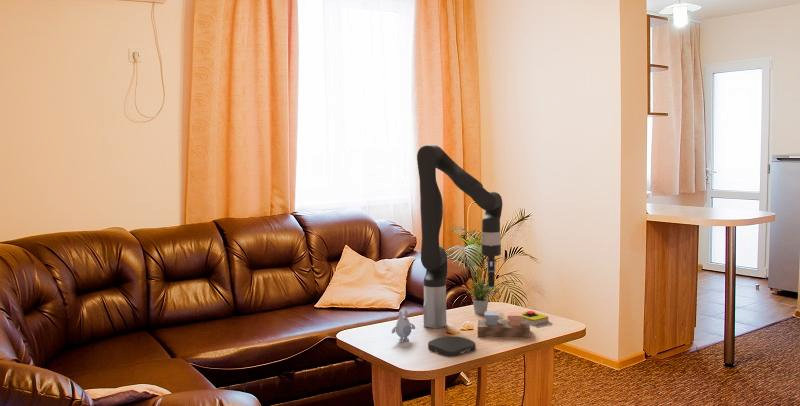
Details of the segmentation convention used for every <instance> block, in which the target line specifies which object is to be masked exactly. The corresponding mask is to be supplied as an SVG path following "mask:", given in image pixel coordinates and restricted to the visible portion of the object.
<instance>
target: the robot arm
mask: <svg viewBox="0 0 800 406" xmlns="http://www.w3.org/2000/svg"><path fill="white" fill-rule="evenodd" d="M416 162H417V170H418V171H417V172H418V177H419V178H418V179H419V197H420V207H419V208H420V209H419V210H420V225H421V248H420V263H421V265H422V267H424V269H425V270H426V271H425V275H424V277H423V306H422V307H423V311H422V312H423V327H424V328H430V329H439V328H440V329H441V328H444V326H445V325H446V326H447V285H446V284H447V278H448V255H447V251H446V249H444V247H442V246H440V231H441V227H442V223H443V217H444V204H443V201H444V200H443V197H442V194H441V193H442V192H441V190H440V188H439V185H438V182H437V175H436V174H437V173H436V172H437V171H436V169H437V170H440V171H441V172H442V173H444V174H445V175H446V176H447V177H449V179H450V180H451V181H452V182H453V184H454V185H455V186H456V187H457V188H458V189H459V190H460V191H462V192H463V193H464V194H466V195H467V196H469V197H470V198H471V199H472V200H473V202H474V203H476V205H477V206H478V207H479V208H480V209H482V210H483V211H484V212H485V213H484V216H483V218H482V221H481V255H482V256H484V257H487V258H486V261H485V264H486V272H487V277H488V283H489V287H490V288H494V287H495V283H494V282H495V281H494V280H495V277H496V275H495V273H496V272H497V271H496V270H497V269H496V268H497V259H496V257H498V256H501V254H502V242H501V241H502V237H501V236H502V235H501V217H502V211H503V199H502V196H501V195H500V193H498V192H496V191H492V192H489V191H488V190H487V189H486V188H485V187H484V185H483V183H482V182H480V181H479V179H477V178H475V177H474V176H472V174H470V173H468V172H467V171H466V170H465V169H463V167H461V166H459V164H457V163H456V162H455V161H454V160H453V159H452V158H451V157H450V156H449V155H448V154H447V153H446V152H445V151H444V149H442V147H440V146H438V145H437V144H436V145H434V144H424V145H422V146H421V147H419V148H418V151H417V154H416ZM446 326H445V327H446Z"/></svg>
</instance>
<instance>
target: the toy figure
mask: <svg viewBox="0 0 800 406" xmlns="http://www.w3.org/2000/svg"><path fill="white" fill-rule="evenodd" d="M398 315H399V317H398V319H397V321H396V324H395V326H394V327H393V328H392V329H391V334H392V335H393V334H394V333H396V335H397V336H398V337H399V339H398V341H399V343H403V342H408V341H410V338H408V337H409V336H411V333H412V330H415V329H416V326H415V324H413V323H411V322H410V319H409V317H408V316H407V315H408V310H406V309H405V310H404V311H403V312H402V311H401V310H400V311H399V312H398Z"/></svg>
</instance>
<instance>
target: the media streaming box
mask: <svg viewBox="0 0 800 406" xmlns="http://www.w3.org/2000/svg"><path fill="white" fill-rule="evenodd" d="M427 346H428V347H427V348H428V351H430V352H433V353H436V354H438V355H441V356H444V357H448V358H449V357H451V358H452V357H453V358H454V357H459V356H462V355H466V354H469V353H471V352H474V351H476V348H477V347H476V342H474V341H473V340H471V339H469V338H466V337H462V336H455V335H454V336H453V335H452V336H440V337H437V338H435V339H432V340H430V341H429V342H428V343H427Z"/></svg>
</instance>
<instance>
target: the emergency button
mask: <svg viewBox="0 0 800 406" xmlns="http://www.w3.org/2000/svg"><path fill="white" fill-rule="evenodd" d="M521 312H522V311H521ZM521 321H529V326H530V327H531V326H532V327H535V328H542V327H545V326H546V327H547V326H551V325H553V324H554V323H553V322H550V321H549V316H548V315H546V314H543V313H539V312H535V311H533V310H526V311H523V312H522V320H521Z"/></svg>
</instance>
